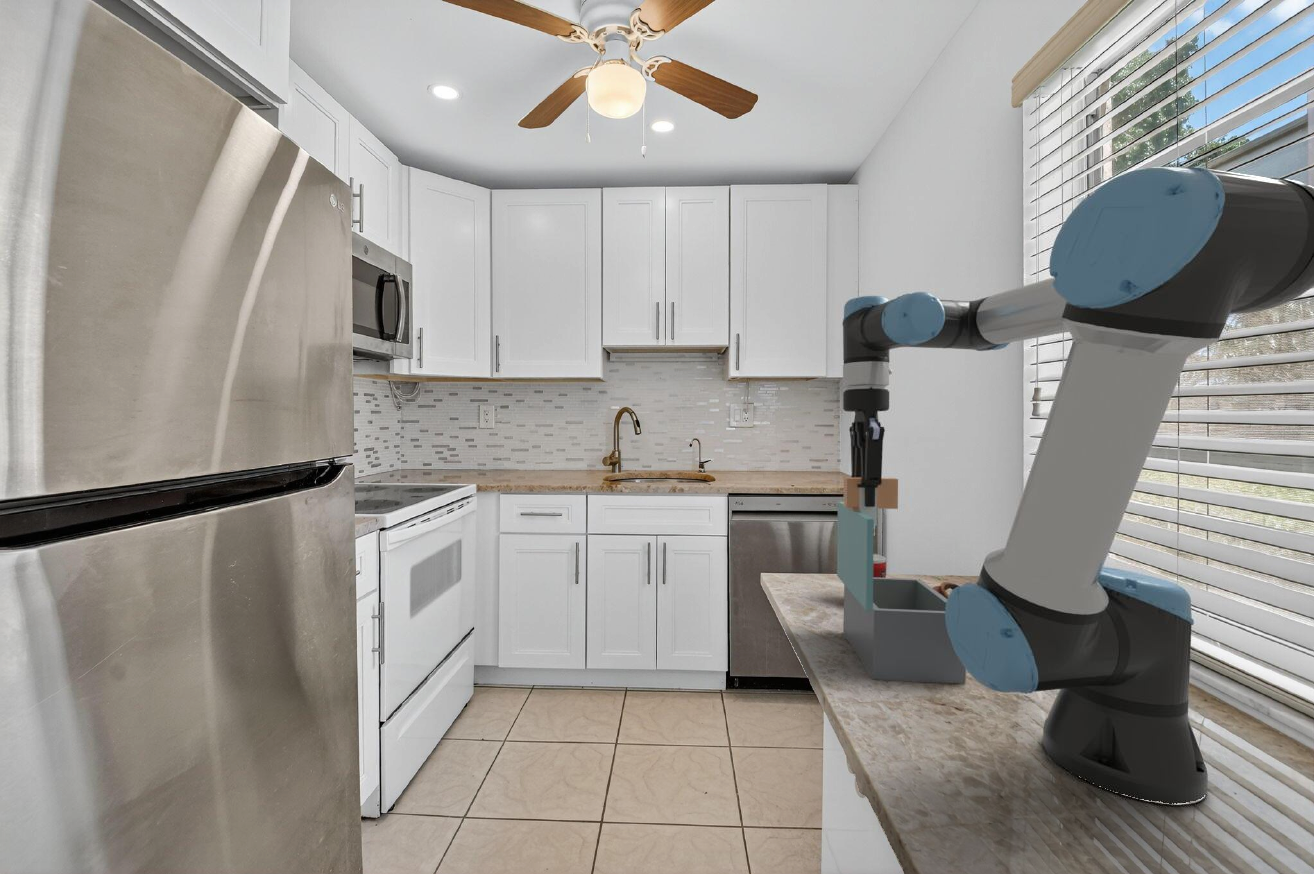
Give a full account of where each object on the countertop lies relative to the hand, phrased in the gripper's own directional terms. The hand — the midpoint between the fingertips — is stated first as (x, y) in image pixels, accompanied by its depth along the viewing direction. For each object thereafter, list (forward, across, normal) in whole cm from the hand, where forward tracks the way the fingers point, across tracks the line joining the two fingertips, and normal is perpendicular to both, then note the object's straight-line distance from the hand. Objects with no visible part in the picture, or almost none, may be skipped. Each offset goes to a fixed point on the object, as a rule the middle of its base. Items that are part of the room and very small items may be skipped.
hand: (865, 523), depth 99 cm
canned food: (+23, +28, -7) cm, 37 cm away
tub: (+23, 0, -6) cm, 24 cm away
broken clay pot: (+24, +22, -21) cm, 39 cm away
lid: (+2, 0, -5) cm, 5 cm away
